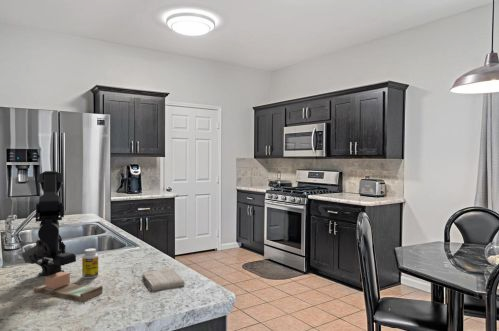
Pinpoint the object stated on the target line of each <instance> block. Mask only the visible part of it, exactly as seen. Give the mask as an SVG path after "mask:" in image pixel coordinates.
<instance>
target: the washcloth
mask: <svg viewBox="0 0 499 331" xmlns="http://www.w3.org/2000/svg"><path fill="white" fill-rule="evenodd" d="M142 279H143V281H144V283H145V284H146V286H147V288H149V290H150V291H151V292H152V291H153V292H154V291H161V290H165V289H174V288H178V287H183V286H185V280H184V279H183V278H182V277H181V276H180V275H179V273H177V272H176V271H175V270H174V269H173V268H172V267H167V268H163V269H152V270H151V269H150V270H145V271H143V272H142Z"/></svg>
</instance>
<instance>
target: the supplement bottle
mask: <svg viewBox="0 0 499 331" xmlns="http://www.w3.org/2000/svg"><path fill="white" fill-rule="evenodd" d="M81 258H82V266H81V267H82V268H81V269H82V270H81V272H82V274H81V276H82V278H83V279H94V278H97V277H98V276H99V254H98V253H97V249H96V248H86V249H84V254H83V255H82V257H81Z"/></svg>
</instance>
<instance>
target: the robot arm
mask: <svg viewBox="0 0 499 331" xmlns="http://www.w3.org/2000/svg"><path fill="white" fill-rule="evenodd" d="M63 184H64V173H61V172H59V171H57V170H45V171H42V172H41V173H39V174H38V185H40V188H41V190H42V194H41V196H39V197H38V203H37V202H36V203H35V204H36V207H35V222H36V223H37V222H40V223H39V228H38V231H37V236H38V238H39V239H37V240H36V242H35V245H34V246H32V247H30V248H28V249H27V250H25V251H24V252H22V253H21V256H22V258H23V261H24V263H26V264H27V263H28V264H32V265H33V264H35V265H38V266H39V267H40V268H41V269H42V270H41V272H38V275H40V276H45V278H46V276H49V275H52V274H55V273H59V272H65V270H63V269H62V266H66V265H69V264H72V263H76V261H77V255H76V254H75V253H73V252H72V253H71V252H66V244H65V243H64V241H63V238H62V237H61V235H60V223H59V221H62V220H63V218H64V217H65V210H64V209H65V207H64V206H65V205H64V204H63V202H61V200H60V196H59V195H58V194H60V193H59V192H60V191H61V190H62V185H63Z"/></svg>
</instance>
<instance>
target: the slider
mask: <svg viewBox="0 0 499 331" xmlns="http://www.w3.org/2000/svg"><path fill="white" fill-rule="evenodd" d="M70 276H71V273H70V272H65V271H64V272H59V273H55V274H52V275H49V276H46V277H45V284H46V287H47V288H53V289H55V288H58V287H61V286H63V285H66V284H69V283H71V279H70V278H71V277H70Z"/></svg>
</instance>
